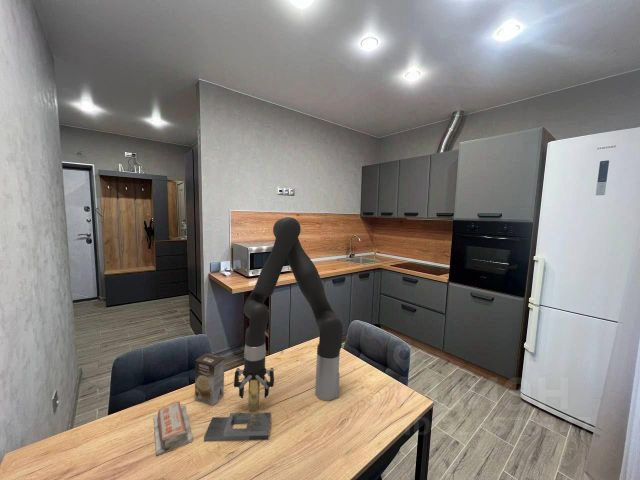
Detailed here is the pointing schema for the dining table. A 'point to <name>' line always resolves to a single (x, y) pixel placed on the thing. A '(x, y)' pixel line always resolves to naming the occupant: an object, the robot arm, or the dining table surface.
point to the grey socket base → (254, 431)
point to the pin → (254, 395)
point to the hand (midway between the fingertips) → (254, 396)
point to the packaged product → (172, 428)
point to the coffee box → (209, 378)
